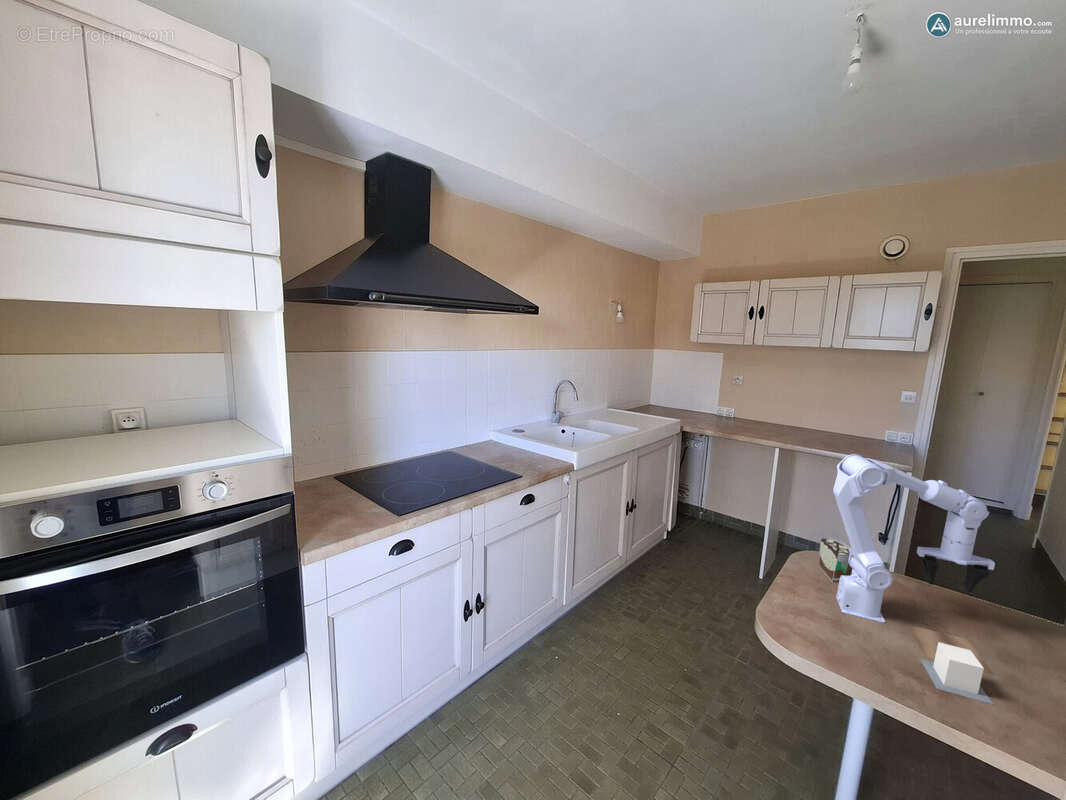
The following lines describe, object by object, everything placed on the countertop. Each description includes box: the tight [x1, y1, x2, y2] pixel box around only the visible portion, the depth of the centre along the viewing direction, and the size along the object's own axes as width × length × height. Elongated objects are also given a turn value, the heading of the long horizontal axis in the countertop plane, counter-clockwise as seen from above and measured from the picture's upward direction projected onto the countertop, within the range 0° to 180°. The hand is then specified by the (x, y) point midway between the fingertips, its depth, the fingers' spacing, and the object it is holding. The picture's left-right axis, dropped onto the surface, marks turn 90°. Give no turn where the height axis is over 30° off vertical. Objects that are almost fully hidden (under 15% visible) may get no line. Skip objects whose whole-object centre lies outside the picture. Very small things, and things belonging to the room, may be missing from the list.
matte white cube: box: [933, 642, 984, 694], centre depth 92 cm, size 6×6×6 cm
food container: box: [817, 535, 851, 584], centre depth 131 cm, size 12×6×10 cm, turn 168°
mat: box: [919, 658, 994, 705], centre depth 93 cm, size 9×9×1 cm
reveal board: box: [906, 624, 995, 676], centre depth 102 cm, size 12×12×1 cm
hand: (948, 586), depth 110 cm, fingers open, 7 cm apart
